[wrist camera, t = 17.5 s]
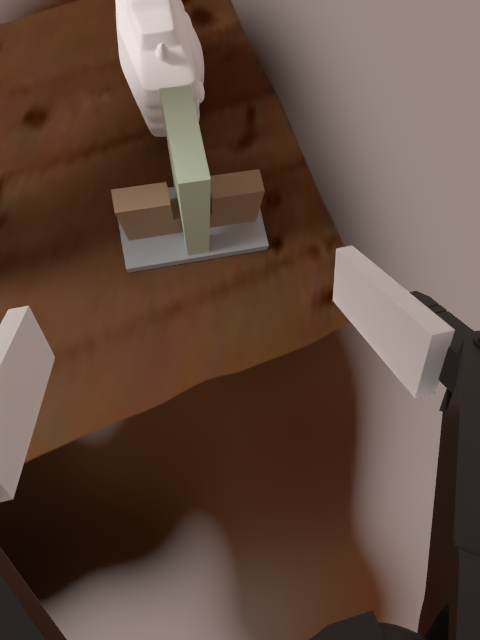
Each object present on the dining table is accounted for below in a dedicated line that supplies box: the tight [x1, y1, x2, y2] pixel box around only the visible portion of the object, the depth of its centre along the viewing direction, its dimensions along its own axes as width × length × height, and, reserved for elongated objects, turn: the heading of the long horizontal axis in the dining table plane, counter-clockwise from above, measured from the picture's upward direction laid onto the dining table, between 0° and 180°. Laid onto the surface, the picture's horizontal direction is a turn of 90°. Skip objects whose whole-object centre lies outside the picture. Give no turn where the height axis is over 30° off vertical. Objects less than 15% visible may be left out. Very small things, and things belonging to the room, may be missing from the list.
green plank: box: [159, 85, 211, 256], centre depth 43 cm, size 3×10×18 cm, turn 12°
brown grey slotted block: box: [111, 169, 269, 273], centre depth 48 cm, size 20×11×10 cm, turn 102°
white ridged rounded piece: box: [116, 0, 205, 137], centre depth 49 cm, size 11×18×16 cm, turn 15°
